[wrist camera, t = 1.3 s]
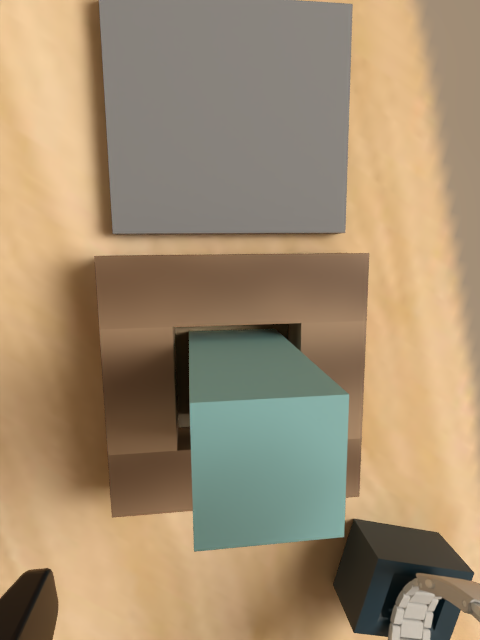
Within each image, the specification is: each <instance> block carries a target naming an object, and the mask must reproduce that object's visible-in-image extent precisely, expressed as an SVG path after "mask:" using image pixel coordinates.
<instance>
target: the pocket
mask: <svg viewBox="0 0 480 640" xmlns="http://www.w3.org/2000/svg"><path fill="white" fill-rule="evenodd" d="M94 257H95V272H96V287H97V302H98V317H99V332H100V347H101V361H102V376H103V391H104V406H105V421H106V436H107V450H108V465H109V480H110V495H111V510H112V517H124V516H136V515H148V514H159V513H171V512H183V511H193V499H192V468H191V436H190V427H186V428H178V403H177V376H176V348H175V327H192V326H224V325H256V324H287V323H288V341H289V342H291V343H292V344H293V345H294V346H295V347H296V348H297V349H298V350H300V351H301V352H302V353H303V354H304V355H305V356H306V357H308V358H309V359H310V360H311V361H312V362H313V363H314V364H315V365H317V366H318V367H319V368H320V369H321V370H322V371H323V372H324V373H326V374H327V375H328V376H329V377H330V378H331V379H332V380H334V381H335V382H336V383H337V384H338V385H339V386H340V387H341V388H343V389H344V390H345V391H346V392H347V393H348V394H349V415H348V443H347V471H346V498H348V497H359V489H360V464H361V440H362V416H363V392H364V368H365V344H366V320H367V296H368V272H369V253H326V254H232V255H138V256H94Z"/></svg>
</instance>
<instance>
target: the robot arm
mask: <svg viewBox="0 0 480 640" xmlns="http://www.w3.org/2000/svg"><path fill="white" fill-rule="evenodd" d="M57 615H58V597H57V592H56V587H55V581H54V576H53V572H52V571H51V569H48V568H45V569H33V570H28V571H26V572H25V573H23V574H22V575H21V576H20V577H19V578H18V580H17V581H16V582H15V583H14V584H13V585H12V586H11V587H10V588H9V589H8V590H7V592H6V593H5V594H4V595H3V596H2V597H1V598H0V640H53V635H54V630H55V625H56V620H57Z"/></svg>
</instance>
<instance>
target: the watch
mask: <svg viewBox="0 0 480 640" xmlns="http://www.w3.org/2000/svg"><path fill="white" fill-rule="evenodd" d="M473 575H474V572H473V571H472V570H471V569H470V568H469V566H468V565H467V564H466V563H465V562H464V561H463V560H462V559H461V557H460V556H459V555H458V554H457V553H456V552H455V551H454V550H453V548H452V547H451V546H450V545H449V544H448V543H447V542H446V541H445V539H444V538H443V537H442V536H441V535H440V534H439V533H437V532H431V531H425V530H419V529H413V528H407V527H400V526H394V525H388V524H382V523H376V522H370V521H364V520H358V519H354V520H353V523H352V526H351V529H350V533H349V536H348V539H347V542H346V545H345V548H344V552H343V555H342V558H341V561H340V564H339V567H338V570H337V574H336V577H335V580H334V583H333V586H334V588H335V590H336V593H337V595H338V597H339V600H340V602H341V604H342V606H343V609H344V611H345V613H346V616H347V618H348V620H349V623H350V625H351V627H352V629H353V632H354V633H359V634H368V635H377V636H385V637H388V640H450V638H451V635H452V632H453V630H454V627H455V624H456V621H457V619H458V616H459V613H460V611H461V610H462V611H463V612H464V613H468V614H471V615H473V616H474V617H475V618H476V619H477V620H478V621H479V622H480V584H479V583H476V582H473V581H472V578H473Z"/></svg>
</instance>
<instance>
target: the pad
mask: <svg viewBox="0 0 480 640" xmlns="http://www.w3.org/2000/svg"><path fill="white" fill-rule="evenodd" d="M99 12H100V28H101V45H102V62H103V79H104V96H105V112H106V129H107V146H108V163H109V179H110V196H111V213H112V230H113V234H307V233H345V224H346V193H347V162H348V130H349V99H350V67H351V36H352V4H344V3H328V2H313V1H298V0H99Z"/></svg>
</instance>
